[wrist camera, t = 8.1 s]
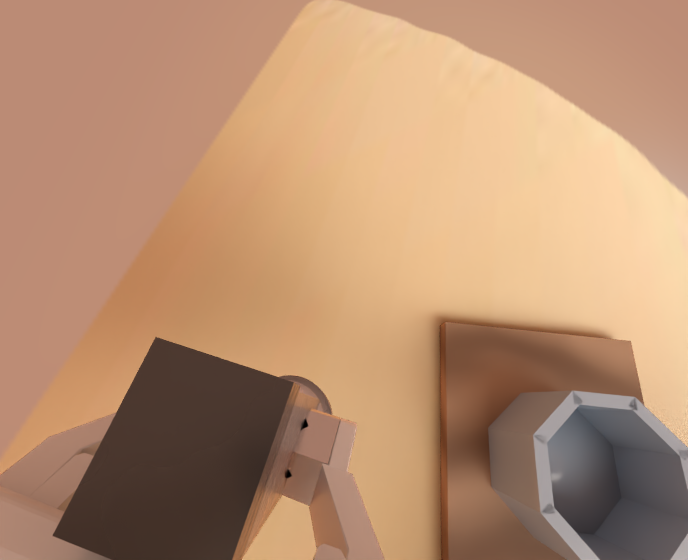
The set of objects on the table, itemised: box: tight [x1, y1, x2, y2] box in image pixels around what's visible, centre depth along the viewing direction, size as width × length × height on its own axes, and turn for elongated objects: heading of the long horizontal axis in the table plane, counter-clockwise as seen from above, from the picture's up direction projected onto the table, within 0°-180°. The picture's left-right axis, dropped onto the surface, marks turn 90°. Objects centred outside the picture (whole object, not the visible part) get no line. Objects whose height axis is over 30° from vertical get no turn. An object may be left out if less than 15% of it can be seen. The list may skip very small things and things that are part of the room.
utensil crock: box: [488, 390, 688, 560], centre depth 22 cm, size 10×10×6 cm
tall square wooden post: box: [52, 337, 332, 560], centre depth 11 cm, size 4×4×13 cm
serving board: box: [440, 322, 644, 560], centre depth 25 cm, size 20×16×2 cm
